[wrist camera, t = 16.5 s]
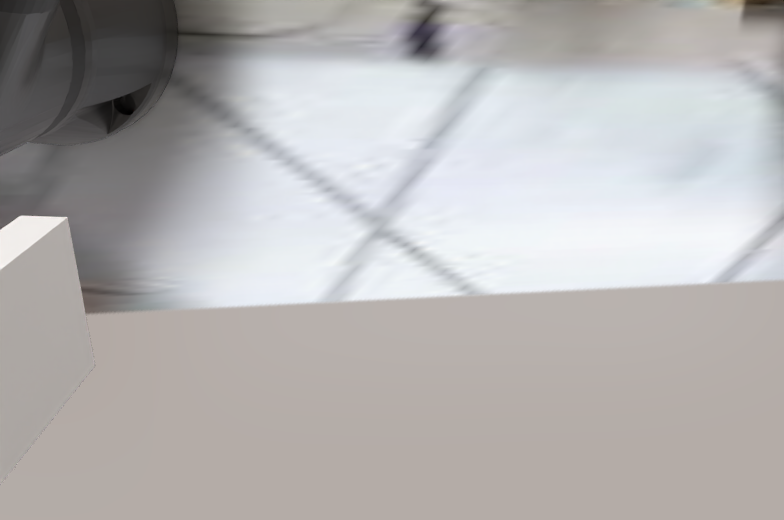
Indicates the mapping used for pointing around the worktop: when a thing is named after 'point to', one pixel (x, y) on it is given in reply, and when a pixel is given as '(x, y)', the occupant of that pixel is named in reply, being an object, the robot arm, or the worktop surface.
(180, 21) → the worktop surface
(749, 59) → the worktop surface
